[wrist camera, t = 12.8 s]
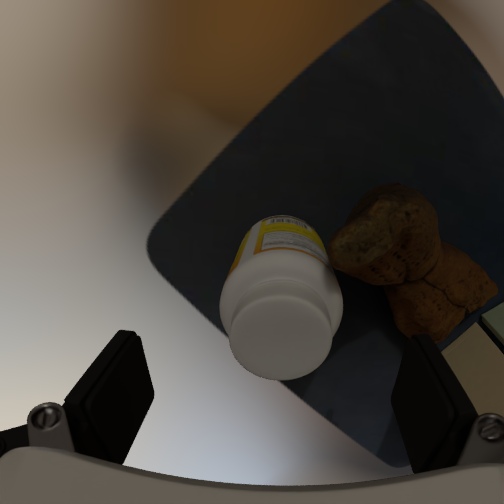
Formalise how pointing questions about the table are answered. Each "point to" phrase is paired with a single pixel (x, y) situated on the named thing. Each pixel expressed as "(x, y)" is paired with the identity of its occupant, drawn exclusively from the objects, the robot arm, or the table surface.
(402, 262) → the sculpture
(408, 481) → the robot arm
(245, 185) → the table surface
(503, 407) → the cabinet
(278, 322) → the supplement bottle
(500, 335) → the cabinet door
